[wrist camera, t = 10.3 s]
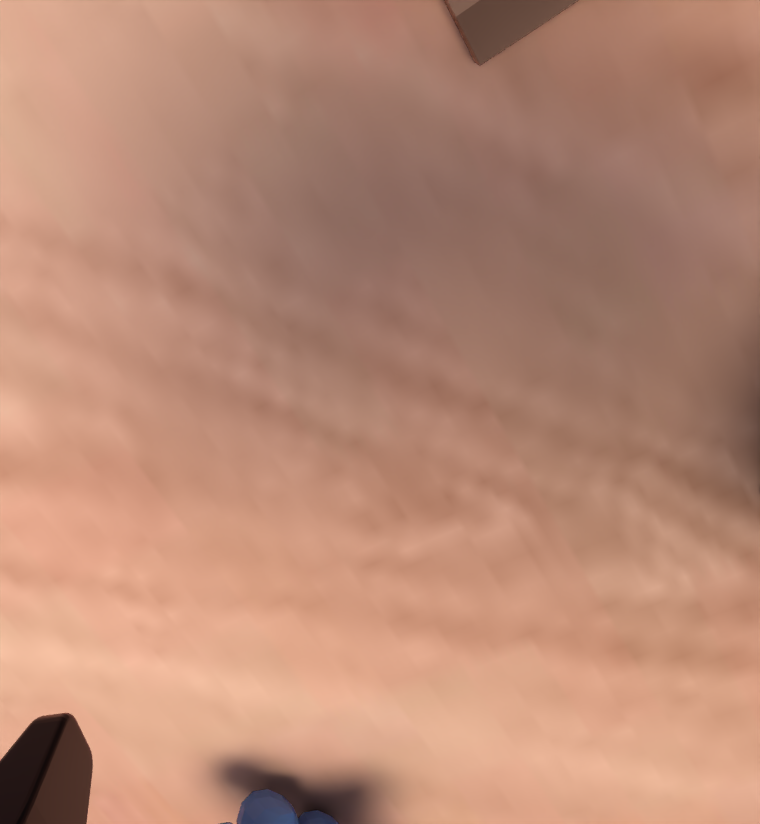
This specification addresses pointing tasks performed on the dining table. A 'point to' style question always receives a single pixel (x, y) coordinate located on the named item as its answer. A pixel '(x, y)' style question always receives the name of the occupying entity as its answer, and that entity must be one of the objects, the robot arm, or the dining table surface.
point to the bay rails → (500, 22)
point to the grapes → (276, 811)
